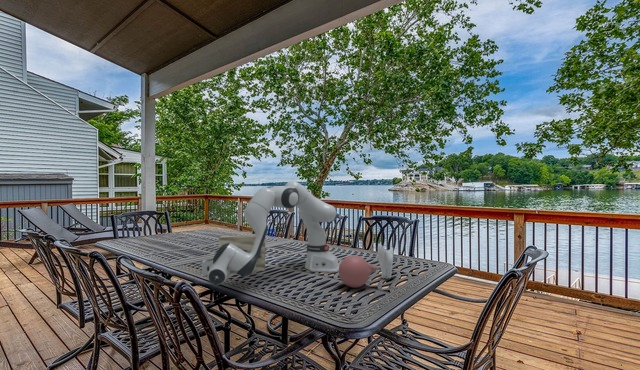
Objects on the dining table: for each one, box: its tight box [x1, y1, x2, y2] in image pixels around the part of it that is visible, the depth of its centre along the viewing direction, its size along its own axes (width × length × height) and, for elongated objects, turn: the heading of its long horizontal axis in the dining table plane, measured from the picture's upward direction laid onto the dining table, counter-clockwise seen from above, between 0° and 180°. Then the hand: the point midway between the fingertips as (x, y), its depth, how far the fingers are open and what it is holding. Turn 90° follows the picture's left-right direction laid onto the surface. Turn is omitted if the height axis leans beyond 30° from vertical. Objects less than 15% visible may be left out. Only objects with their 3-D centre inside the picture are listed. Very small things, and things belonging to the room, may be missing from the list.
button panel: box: [218, 234, 266, 273], centre depth 181 cm, size 13×26×20 cm, turn 101°
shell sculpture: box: [377, 244, 394, 280], centre depth 165 cm, size 8×8×18 cm
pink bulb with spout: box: [338, 254, 380, 289], centre depth 150 cm, size 15×20×15 cm
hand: (224, 260), depth 159 cm, fingers closed
